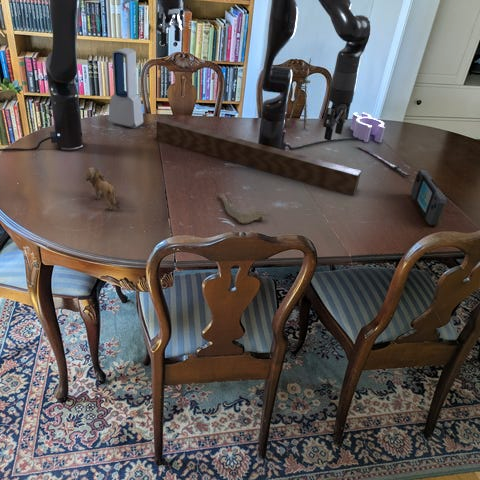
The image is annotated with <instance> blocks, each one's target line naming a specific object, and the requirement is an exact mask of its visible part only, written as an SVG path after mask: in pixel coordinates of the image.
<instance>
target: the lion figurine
mask: <svg viewBox="0 0 480 480" xmlns="http://www.w3.org/2000/svg"><path fill="white" fill-rule="evenodd" d="M82 177H83V178H84V179H85V181H86V182H89V184H91V185H92V187H93V188H94V192H95V196H94V199H95V200H98V199H100V195H101V196H102V197H104V200H105V202H106V203H107V205H108V206H107V210H108V211H109V210H112V204H113V205H114V207H115V208H116V209H118V210H120V209H121V207H120V206H119V205H118V204H117V201H116V197H115V196H116V194H115V193H116V191H115V188H114V186H113V184H111V183H109V182H108V181H107V180H106V178H105V176H104V175H103V173H102V172H101V171H100V170H99V169H97V168H95V167H88V171H87V172H86V173H85V174H84V175H83V176H82ZM100 192H101V194H100ZM110 198H111V201H110Z"/></svg>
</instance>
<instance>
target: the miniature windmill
mask: <svg viewBox="0 0 480 480" xmlns="http://www.w3.org/2000/svg"><path fill="white" fill-rule="evenodd" d="M311 60H312V58H311V57H310V58H309V61H308V67H307V66H306V67H304V66H302V65H300V64H299V65H298V64H296V67H295V71H304V75H303V78H302V79H301V78H300V79H299V81H298V82H299V83H301V84H300V85H299V89H298V91H297V95H296V98H295V100H294V104H293V107H292V110H291V113H290V116H289V118H288V119H289V120H288V123H287V125H286V126H287V127H289V126H290V123H291V121H293V120H294V121H299V122H303V130H306V125H307V119H308V115H307V107H308V105H307V98H308V96H307V88H308V86H307V84H311V80H309V79H308V78H309V74H310V66H311V62H312V61H311ZM306 73H307V74H306ZM302 90H304V94H300V93H301V91H302ZM299 99H302V100H304V103H303V104H302V103H297V102H298V100H299ZM297 106H303V107H297ZM295 109H299V110H303V112H304V113H303V114H296V113H294V112H295ZM293 116H297V117H303V119H297V118H292V117H293Z"/></svg>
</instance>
